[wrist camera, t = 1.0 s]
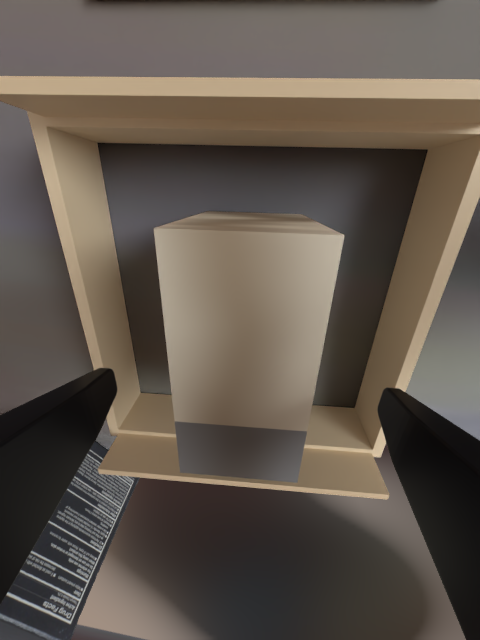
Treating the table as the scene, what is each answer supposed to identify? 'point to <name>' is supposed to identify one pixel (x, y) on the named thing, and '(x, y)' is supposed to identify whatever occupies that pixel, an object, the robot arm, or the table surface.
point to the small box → (67, 555)
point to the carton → (256, 130)
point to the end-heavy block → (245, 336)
